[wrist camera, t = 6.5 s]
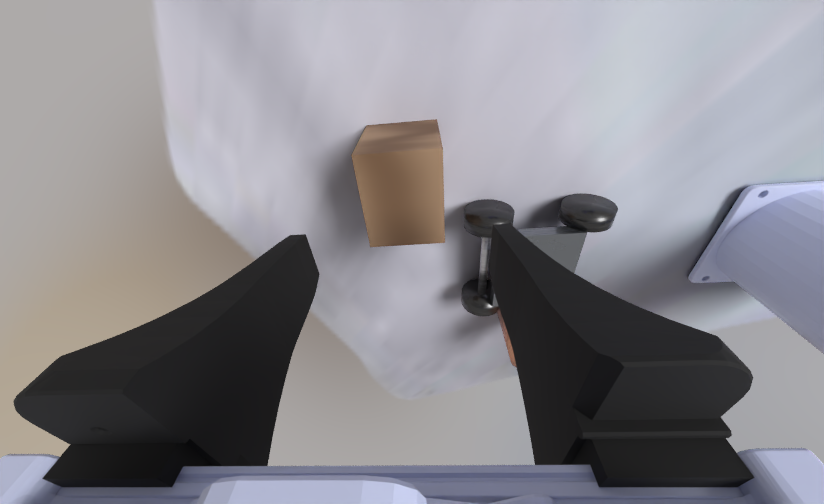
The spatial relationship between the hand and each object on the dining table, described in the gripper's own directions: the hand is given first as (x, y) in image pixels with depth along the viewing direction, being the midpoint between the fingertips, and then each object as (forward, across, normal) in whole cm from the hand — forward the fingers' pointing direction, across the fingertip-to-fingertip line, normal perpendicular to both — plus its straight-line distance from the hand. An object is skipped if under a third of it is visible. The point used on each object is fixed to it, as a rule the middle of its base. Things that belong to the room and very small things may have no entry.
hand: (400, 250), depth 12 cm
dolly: (+9, -8, +6) cm, 13 cm away
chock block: (+9, 0, 0) cm, 9 cm away
